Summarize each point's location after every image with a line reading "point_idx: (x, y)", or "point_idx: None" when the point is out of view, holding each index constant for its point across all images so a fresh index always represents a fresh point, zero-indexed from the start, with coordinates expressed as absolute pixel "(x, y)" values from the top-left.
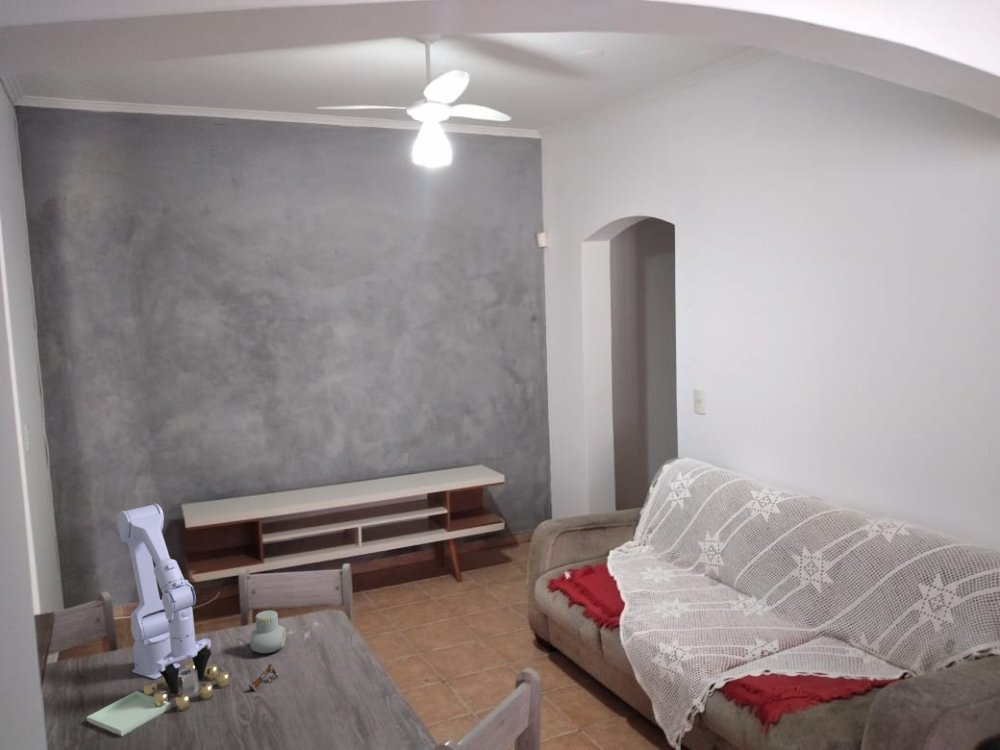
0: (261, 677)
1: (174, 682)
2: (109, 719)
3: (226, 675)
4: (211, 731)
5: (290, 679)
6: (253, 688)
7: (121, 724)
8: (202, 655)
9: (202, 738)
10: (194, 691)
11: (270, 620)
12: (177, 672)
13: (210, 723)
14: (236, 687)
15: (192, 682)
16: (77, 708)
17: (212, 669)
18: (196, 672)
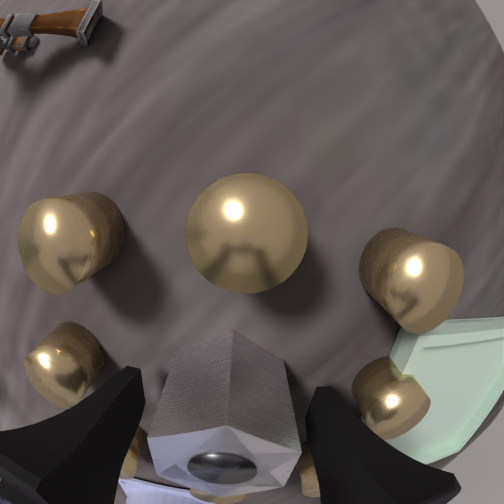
0: (35, 12)
1: (375, 437)
2: (459, 418)
3: (46, 200)
4: (456, 13)
5: (18, 9)
6: (85, 33)
7: (488, 371)
8: (56, 494)
9: (486, 31)
10: (234, 337)
11: None
12: (397, 488)
13: (433, 32)
14: (84, 134)
15: (238, 381)
16: None
17: (55, 363)
18: (163, 424)
